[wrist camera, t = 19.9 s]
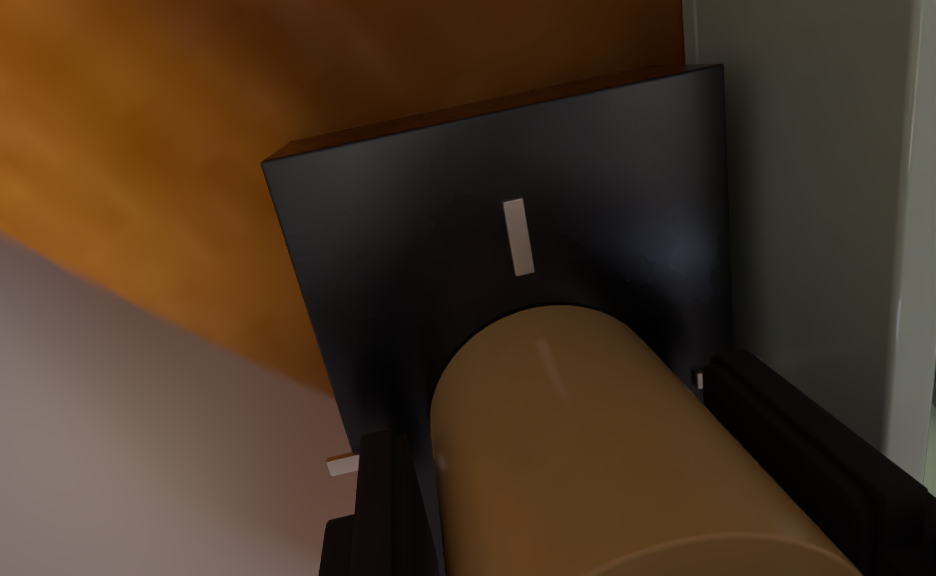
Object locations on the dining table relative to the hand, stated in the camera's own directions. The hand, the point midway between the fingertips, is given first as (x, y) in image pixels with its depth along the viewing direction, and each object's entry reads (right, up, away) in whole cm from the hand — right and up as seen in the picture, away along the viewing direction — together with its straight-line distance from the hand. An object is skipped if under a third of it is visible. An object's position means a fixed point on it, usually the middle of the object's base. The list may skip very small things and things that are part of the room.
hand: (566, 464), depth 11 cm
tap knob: (0, +1, +1) cm, 2 cm away
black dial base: (0, +2, +4) cm, 5 cm away
